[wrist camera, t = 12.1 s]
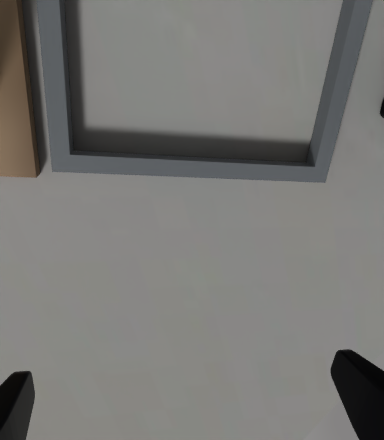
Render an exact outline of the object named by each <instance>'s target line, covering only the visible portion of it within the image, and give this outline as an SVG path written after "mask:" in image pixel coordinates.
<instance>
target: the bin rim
mask: <svg viewBox="0 0 384 440" xmlns="http://www.w3.org/2000/svg"><path fill="white" fill-rule="evenodd" d="M372 1H373V0H343V4H342V8H341V12H340V17H339V21H338V25H337V30H336V34H335V39H334V43H333V47H332V52H331V56H330V60H329V65H328V69H327V73H326V78H325V82H324V86H323V91H322V95H321V99H320V104H319V108H318V112H317V117H316V121H315V125H314V130H313V134H312V139H311V143H310V147H309V152H308V156H307V160H306V163H302V162H282V161H263V160H244V159H225V158H206V157H187V156H168V155H148V154H129V153H110V152H91V151H74V148H73V132H72V116H71V100H70V84H69V68H68V53H67V37H66V21H65V5H64V0H37V11H38V22H39V33H40V44H41V55H42V66H43V77H44V87H45V98H46V109H47V120H48V131H49V142H50V153H51V164H52V172H75V173H100V174H125V175H150V176H174V177H199V178H224V179H249V180H273V181H298V182H323V183H325V181H326V178H327V174H328V170H329V166H330V162H331V158H332V155H333V151H334V147H335V143H336V139H337V135H338V132H339V128H340V124H341V120H342V116H343V112H344V109H345V105H346V101H347V97H348V93H349V89H350V86H351V82H352V78H353V74H354V70H355V66H356V63H357V59H358V55H359V51H360V47H361V43H362V40H363V36H364V32H365V28H366V24H367V20H368V17H369V13H370V9H371V5H372Z"/></svg>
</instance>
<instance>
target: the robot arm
mask: <svg viewBox="0 0 384 440" xmlns="http://www.w3.org/2000/svg"><path fill="white" fill-rule="evenodd" d="M380 114H381V116H382V117H383V118H384V100H383V103H382V106H381V110H380ZM331 376H332V379H333V381H334V384H335V386H336V389H337V391H338V393H339V396H340V398H341V400H342V403H343V405H344V407H345V410H346V412H347V415H348V417H349V419H350V422H351V424H352V426H353V428H354V430H355V432H356V434H357V436H358V438H359V440H384V371H383V370H382V369H380V368H378V367H377V366H375V365H374V364H372V363H371V362H369V361H368V360H366V359H365V358H363V357H362V356H360V355H359V354H357V353H356V352H354V351H352V350H349V349H347V350H338V351H337V352H336V355H335V357H334V360H333V363H332V366H331ZM34 399H35V391H34V384H33V378H32V373H31V372H30V371H19V372H14V373H12V374H11V375H10V376H9V377H8V378H7V379H6V380H5V381H4V382H3V383H2V384H1V385H0V440H26V436H27V431H28V427H29V422H30V418H31V413H32V409H33V404H34Z"/></svg>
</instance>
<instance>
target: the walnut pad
mask: <svg viewBox="0 0 384 440" xmlns="http://www.w3.org/2000/svg"><path fill="white" fill-rule="evenodd" d="M38 175H40V167H39V158H38V149H37V139H36V130H35V121H34V112H33V102H32V93H31V84H30V74H29V65H28V56H27V47H26V37H25V28H24V19H23V9H22V0H0V176H9V177H37V176H38Z"/></svg>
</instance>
